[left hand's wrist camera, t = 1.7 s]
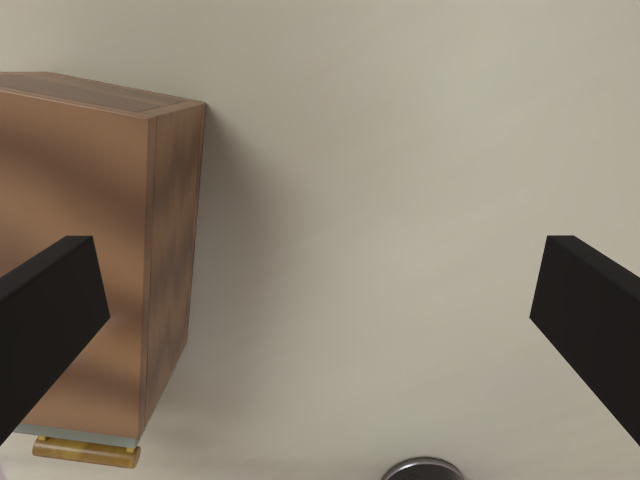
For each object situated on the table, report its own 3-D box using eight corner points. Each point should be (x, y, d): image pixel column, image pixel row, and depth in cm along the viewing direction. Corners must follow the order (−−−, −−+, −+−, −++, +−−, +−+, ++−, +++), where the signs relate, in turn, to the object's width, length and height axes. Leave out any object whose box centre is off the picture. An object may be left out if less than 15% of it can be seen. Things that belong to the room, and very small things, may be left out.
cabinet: (186, 342, 39) (138, 439, 29) (60, 322, 38) (-36, 415, 28) (206, 102, 31) (149, 117, 21) (47, 71, 30) (-95, 71, 20)
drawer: (172, 414, 41) (133, 503, 33) (64, 399, 41) (-4, 486, 32) (191, 150, 31) (143, 179, 23) (49, 124, 31) (-54, 144, 22)
